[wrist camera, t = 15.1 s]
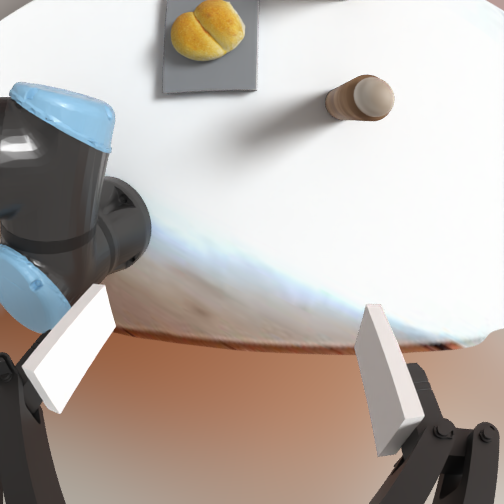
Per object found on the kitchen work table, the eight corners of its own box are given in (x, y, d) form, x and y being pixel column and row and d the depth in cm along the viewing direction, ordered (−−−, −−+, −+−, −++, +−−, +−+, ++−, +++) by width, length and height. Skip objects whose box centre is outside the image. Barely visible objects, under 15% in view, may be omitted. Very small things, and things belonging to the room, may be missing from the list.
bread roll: (165, 29, 30) (153, 21, 26) (225, -4, 27) (219, -16, 24) (192, 75, 33) (183, 71, 29) (256, 42, 30) (253, 33, 27)
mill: (324, 118, 36) (353, 117, 21) (325, 86, 34) (355, 65, 19) (357, 121, 35) (403, 125, 21) (358, 90, 33) (405, 76, 19)
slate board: (168, 93, 36) (162, 92, 34) (173, -6, 29) (168, -11, 27) (257, 90, 35) (255, 88, 33) (259, -13, 28) (258, -19, 26)
